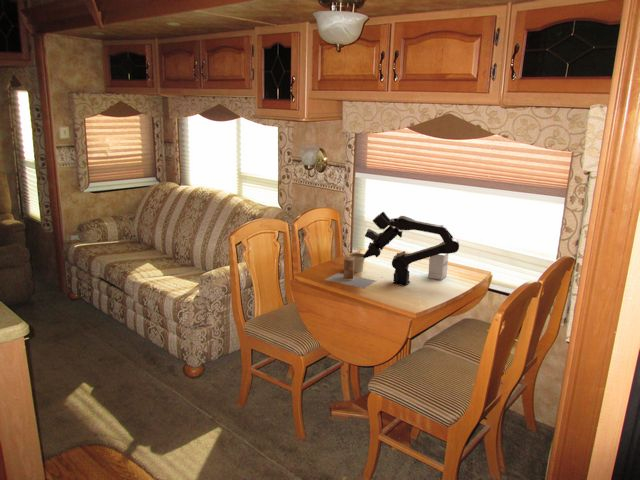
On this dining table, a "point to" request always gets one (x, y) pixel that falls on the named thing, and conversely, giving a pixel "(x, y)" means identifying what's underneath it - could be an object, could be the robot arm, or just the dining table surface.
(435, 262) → the supplement box
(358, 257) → the flower pot
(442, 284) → the dining table surface
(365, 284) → the rubber mat
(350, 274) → the walnut block
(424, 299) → the dining table surface
